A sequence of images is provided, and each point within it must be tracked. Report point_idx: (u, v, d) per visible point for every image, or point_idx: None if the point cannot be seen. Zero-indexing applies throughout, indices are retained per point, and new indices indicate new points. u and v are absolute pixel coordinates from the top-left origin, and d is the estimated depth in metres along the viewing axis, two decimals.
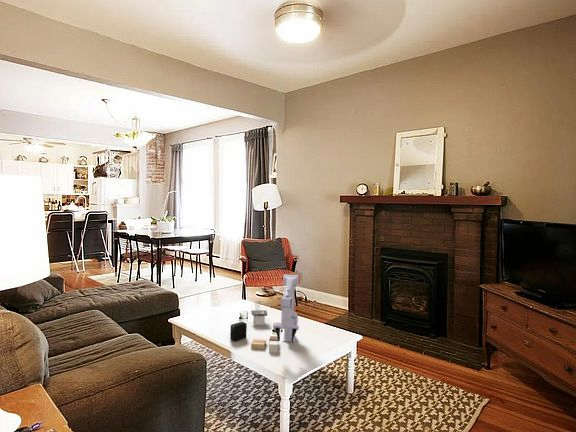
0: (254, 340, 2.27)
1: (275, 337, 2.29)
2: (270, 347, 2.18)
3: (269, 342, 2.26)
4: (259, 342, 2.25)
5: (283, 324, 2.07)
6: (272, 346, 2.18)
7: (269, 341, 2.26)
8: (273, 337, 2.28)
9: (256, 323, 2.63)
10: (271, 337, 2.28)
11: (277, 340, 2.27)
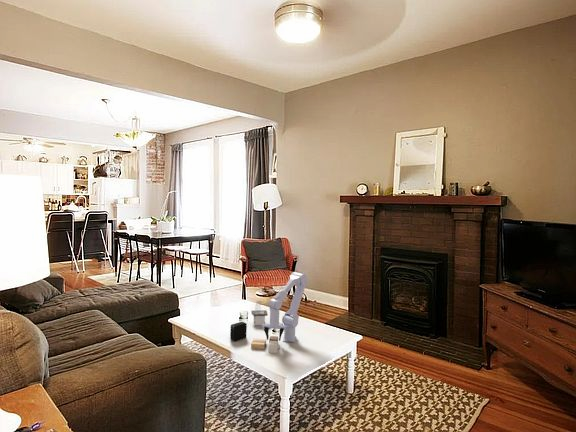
0: (254, 340, 2.27)
1: (275, 337, 2.29)
2: (270, 347, 2.18)
3: (269, 342, 2.26)
4: (259, 342, 2.25)
5: (271, 324, 2.25)
6: (272, 346, 2.18)
7: (269, 341, 2.26)
8: (273, 337, 2.28)
9: (256, 323, 2.63)
10: (271, 337, 2.28)
11: (277, 340, 2.27)
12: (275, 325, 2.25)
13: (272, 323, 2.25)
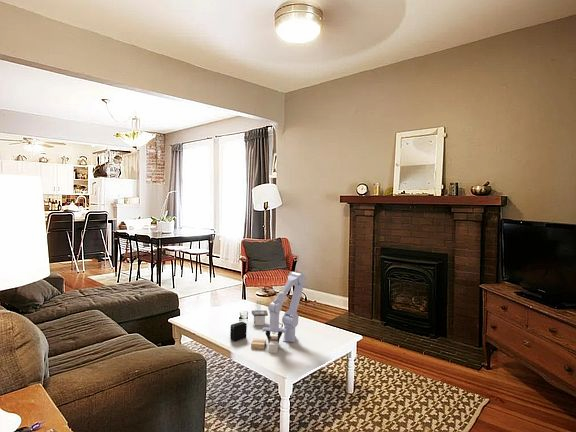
0: (254, 340, 2.27)
1: (275, 337, 2.29)
2: (270, 347, 2.18)
3: (269, 342, 2.26)
4: (259, 342, 2.25)
5: (271, 327, 2.25)
6: (272, 346, 2.18)
7: (269, 341, 2.26)
8: (273, 337, 2.28)
9: (256, 323, 2.63)
10: (271, 337, 2.28)
11: (277, 340, 2.27)
12: (275, 328, 2.25)
13: (272, 326, 2.25)
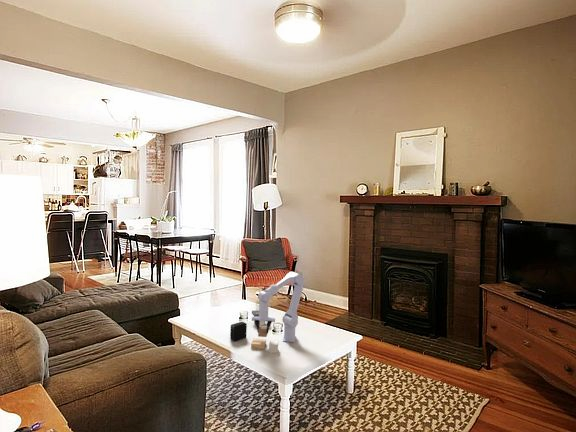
0: (254, 340, 2.27)
1: (264, 327, 2.26)
2: (270, 347, 2.18)
3: (258, 332, 2.24)
4: (259, 342, 2.25)
5: (260, 316, 2.23)
6: (272, 346, 2.18)
7: (258, 331, 2.24)
8: (262, 327, 2.26)
9: None
10: (260, 327, 2.26)
11: (266, 330, 2.24)
12: (264, 318, 2.23)
13: (261, 316, 2.23)
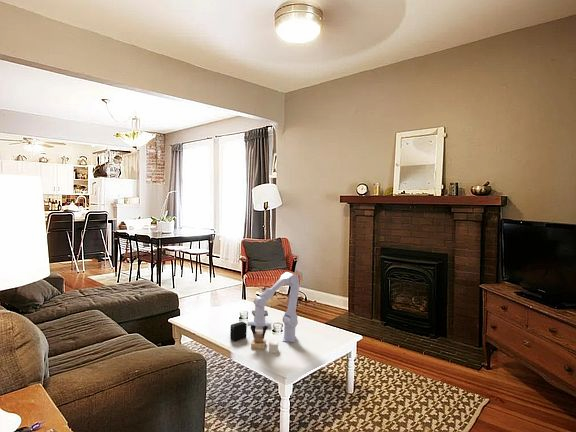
0: None
1: (260, 332, 2.26)
2: (270, 347, 2.18)
3: (254, 337, 2.24)
4: (259, 342, 2.25)
5: (256, 322, 2.23)
6: (272, 346, 2.18)
7: (254, 336, 2.24)
8: (258, 332, 2.25)
9: None
10: (256, 332, 2.26)
11: (262, 335, 2.24)
12: (260, 323, 2.23)
13: (257, 321, 2.23)
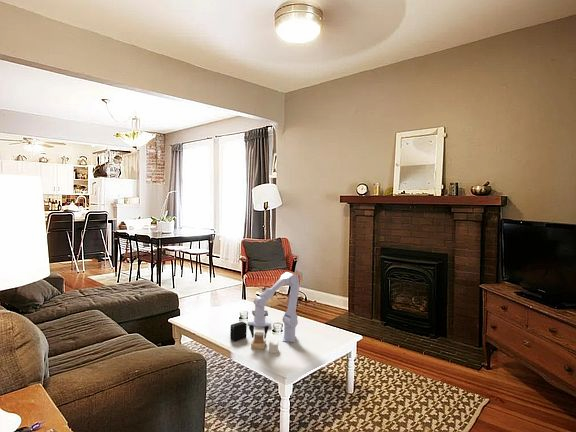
0: None
1: (260, 333, 2.26)
2: (270, 347, 2.18)
3: (254, 338, 2.24)
4: None
5: (256, 322, 2.23)
6: (272, 346, 2.18)
7: (254, 337, 2.24)
8: (258, 333, 2.25)
9: None
10: (256, 333, 2.26)
11: (262, 336, 2.24)
12: (260, 323, 2.23)
13: (257, 321, 2.23)
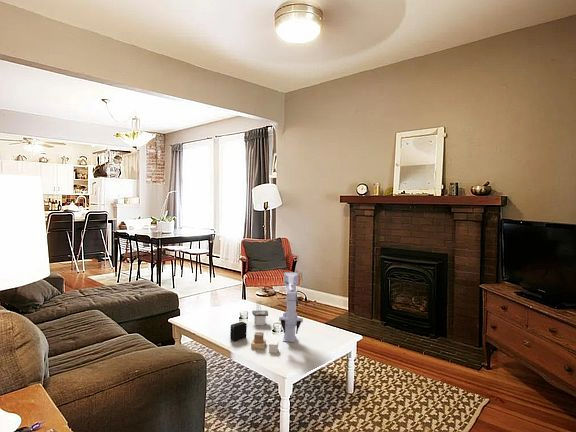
0: None
1: (260, 333, 2.26)
2: (270, 347, 2.18)
3: (254, 338, 2.24)
4: None
5: (288, 317, 2.21)
6: (272, 346, 2.18)
7: (254, 337, 2.24)
8: (258, 333, 2.25)
9: (257, 323, 2.63)
10: (256, 333, 2.26)
11: (262, 336, 2.24)
12: (292, 318, 2.21)
13: (289, 316, 2.21)
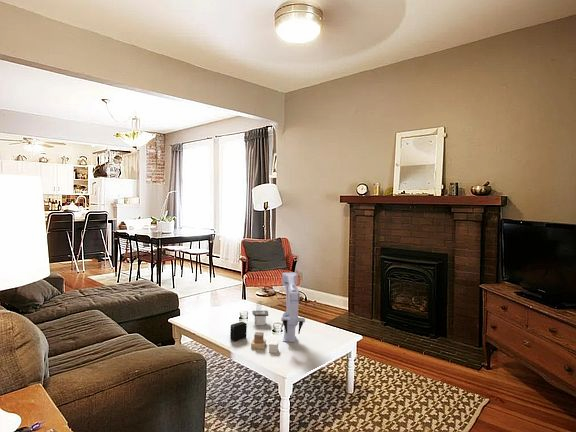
0: None
1: (260, 333, 2.26)
2: (270, 347, 2.18)
3: (254, 338, 2.24)
4: None
5: (290, 317, 2.21)
6: (272, 346, 2.18)
7: (254, 337, 2.24)
8: (258, 333, 2.25)
9: (257, 323, 2.63)
10: (256, 333, 2.26)
11: (262, 336, 2.24)
12: (294, 318, 2.21)
13: (291, 316, 2.21)
